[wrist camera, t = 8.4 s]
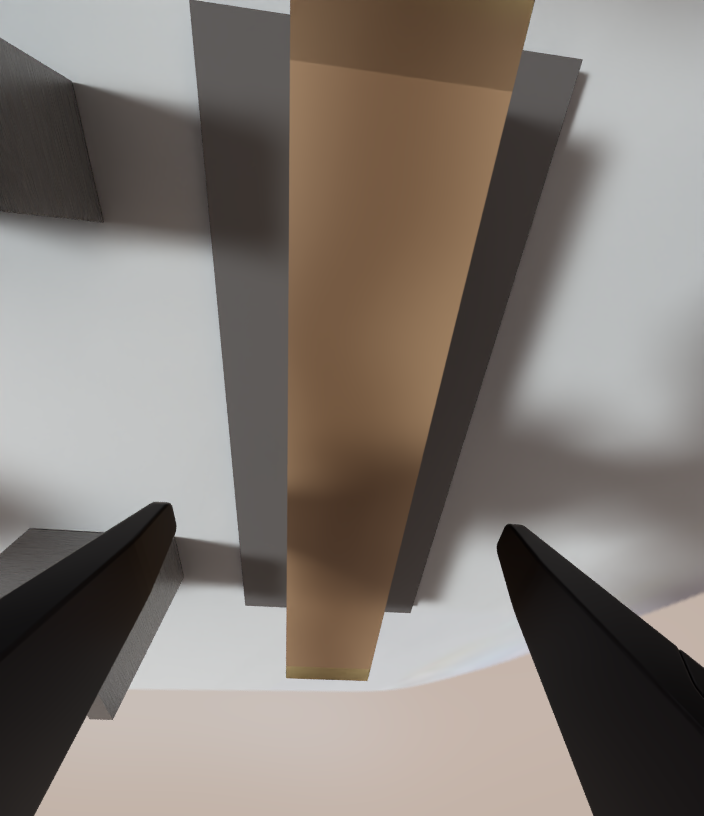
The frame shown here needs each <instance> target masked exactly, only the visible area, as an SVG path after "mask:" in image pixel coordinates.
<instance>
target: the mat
mask: <svg viewBox="0 0 704 816" xmlns="http://www.w3.org/2000/svg"><path fill="white" fill-rule="evenodd" d="M189 3H190V13H191V24H192V35H193V46H194V57H195V67H196V78H197V89H198V100H199V110H200V121H201V132H202V143H203V154H204V164H205V175H206V186H207V197H208V208H209V218H210V229H211V240H212V251H213V262H214V272H215V283H216V294H217V305H218V315H219V326H220V337H221V348H222V359H223V369H224V380H225V391H226V402H227V413H228V423H229V434H230V445H231V456H232V467H233V477H234V488H235V499H236V510H237V521H238V531H239V542H240V553H241V564H242V574H243V585H244V596H245V606H267V607H287V464H288V301H289V139H290V15H288V14H281V13H275V12H268V11H262V10H255V9H249V8H242V7H236V6H229V5H222V4H216V3H209V2H203V1H196V0H189ZM582 60H583V59H576V58H570V57H563V56H556V55H550V54H543V53H537V52H530V51H524V50H522V54H521V58H520V63H519V67H518V71H517V75H516V79H515V83H514V87H513V91H512V95H511V99H510V103H509V107H508V111H507V115H506V119H505V124H504V128H503V132H502V136H501V140H500V144H499V148H498V152H497V156H496V160H495V164H494V168H493V172H492V176H491V180H490V184H489V189H488V193H487V197H486V201H485V205H484V209H483V213H482V217H481V221H480V225H479V229H478V233H477V237H476V241H475V245H474V250H473V254H472V258H471V262H470V266H469V270H468V274H467V278H466V282H465V286H464V290H463V294H462V298H461V302H460V306H459V311H458V315H457V319H456V323H455V327H454V331H453V335H452V339H451V343H450V347H449V351H448V355H447V359H446V363H445V367H444V371H443V376H442V380H441V384H440V388H439V392H438V396H437V400H436V404H435V408H434V412H433V416H432V420H431V424H430V428H429V432H428V437H427V441H426V445H425V449H424V453H423V457H422V461H421V465H420V469H419V473H418V477H417V481H416V485H415V489H414V493H413V498H412V502H411V506H410V510H409V514H408V518H407V522H406V526H405V530H404V534H403V538H402V542H401V546H400V550H399V554H398V558H397V563H396V567H395V571H394V575H393V579H392V583H391V587H390V591H389V595H388V599H387V603H386V607H385V611H384V612H398V613H411V609H412V606H413V603H414V600H415V597H416V593H417V590H418V587H419V584H420V580H421V577H422V574H423V571H424V568H425V564H426V561H427V558H428V555H429V552H430V548H431V545H432V542H433V539H434V535H435V532H436V529H437V526H438V523H439V519H440V516H441V513H442V510H443V507H444V503H445V500H446V497H447V494H448V491H449V487H450V484H451V481H452V478H453V474H454V471H455V468H456V465H457V462H458V458H459V455H460V452H461V449H462V446H463V442H464V439H465V436H466V433H467V430H468V426H469V423H470V420H471V417H472V413H473V410H474V407H475V404H476V401H477V397H478V394H479V391H480V388H481V385H482V381H483V378H484V375H485V372H486V369H487V365H488V362H489V359H490V356H491V352H492V349H493V346H494V343H495V340H496V336H497V333H498V330H499V327H500V324H501V320H502V317H503V314H504V311H505V308H506V304H507V301H508V298H509V295H510V291H511V288H512V285H513V282H514V279H515V275H516V272H517V269H518V266H519V263H520V259H521V256H522V253H523V250H524V247H525V243H526V240H527V237H528V234H529V230H530V227H531V224H532V221H533V218H534V214H535V211H536V208H537V205H538V202H539V198H540V195H541V192H542V189H543V185H544V182H545V179H546V176H547V173H548V169H549V166H550V163H551V160H552V157H553V153H554V150H555V147H556V144H557V141H558V137H559V134H560V131H561V128H562V124H563V121H564V118H565V115H566V112H567V108H568V105H569V102H570V99H571V96H572V92H573V89H574V86H575V83H576V80H577V76H578V73H579V70H580V67H581V63H582Z"/></svg>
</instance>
